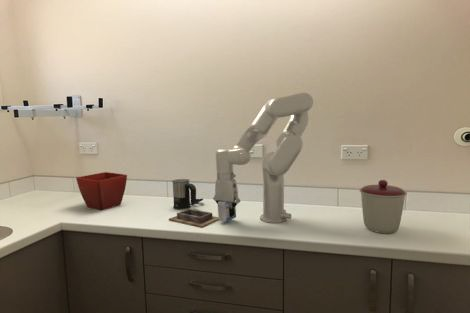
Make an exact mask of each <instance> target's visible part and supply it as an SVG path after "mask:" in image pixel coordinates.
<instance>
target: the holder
mask: <svg viewBox="0 0 470 313" xmlns="http://www.w3.org/2000/svg"><path fill="white" fill-rule="evenodd" d="M168 221H169V222H174V223H178V224H184V225H187V226H188V225H189V226H192V227H197V228H201V229H202V228H204V227H207V226H209V225H211V224H213V223H217V222H218V221H219V218H218V216H214V215H213V212H210V211H204V210H199V209H193V208H187V209H184V210H181V211H179V212H176V215H175V216H173V217H170V218H168Z"/></svg>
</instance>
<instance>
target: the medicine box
mask: <svg viewBox="0 0 470 313" xmlns="http://www.w3.org/2000/svg"><path fill="white" fill-rule="evenodd" d="M234 201H235V202H236V200H234ZM236 207H237V206H236ZM236 207H235V215H234V216H232V217H230V214H229V208H230V205H229V202H226V201H221V202H218V204H217V217H218V218H219V220H218V221H219V222H223V223H224V222H225V223H228V222H229V221H231V220H234V219H235V218H237V208H236Z"/></svg>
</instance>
